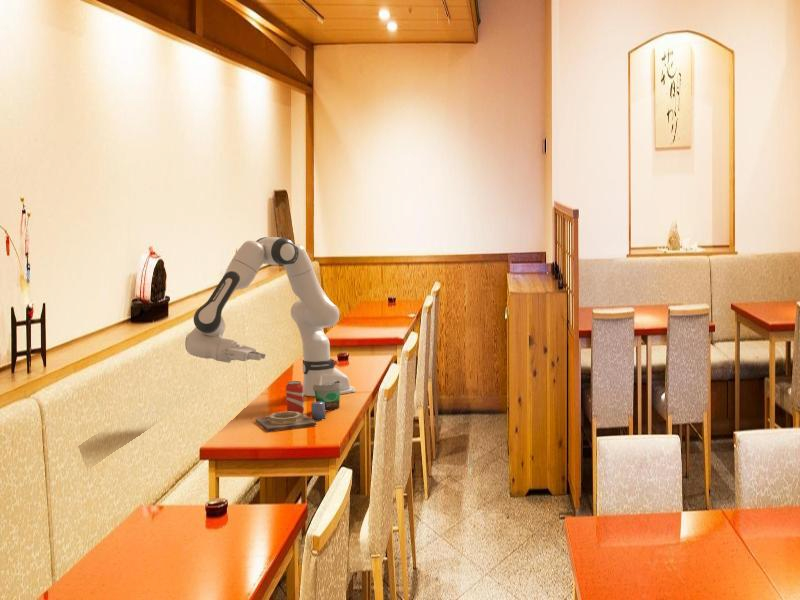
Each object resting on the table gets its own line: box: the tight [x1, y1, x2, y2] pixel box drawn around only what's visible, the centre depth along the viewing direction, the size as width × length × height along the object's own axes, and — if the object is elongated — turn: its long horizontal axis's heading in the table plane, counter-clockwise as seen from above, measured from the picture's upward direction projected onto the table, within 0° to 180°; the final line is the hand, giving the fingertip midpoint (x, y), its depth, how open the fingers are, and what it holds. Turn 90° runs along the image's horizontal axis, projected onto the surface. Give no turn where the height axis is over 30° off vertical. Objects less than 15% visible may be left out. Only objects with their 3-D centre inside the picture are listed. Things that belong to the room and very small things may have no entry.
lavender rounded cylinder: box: [310, 401, 326, 421], centre depth 372 cm, size 5×5×6 cm
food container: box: [313, 380, 342, 411], centre depth 387 cm, size 12×6×10 cm, turn 129°
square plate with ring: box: [254, 410, 317, 433], centre depth 366 cm, size 18×18×3 cm
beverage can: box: [285, 380, 305, 413], centre depth 381 cm, size 6×6×12 cm
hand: (262, 357), depth 381 cm, fingers open, 8 cm apart
